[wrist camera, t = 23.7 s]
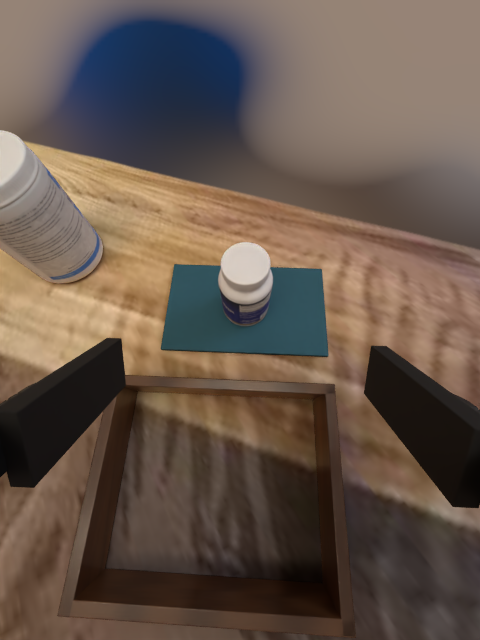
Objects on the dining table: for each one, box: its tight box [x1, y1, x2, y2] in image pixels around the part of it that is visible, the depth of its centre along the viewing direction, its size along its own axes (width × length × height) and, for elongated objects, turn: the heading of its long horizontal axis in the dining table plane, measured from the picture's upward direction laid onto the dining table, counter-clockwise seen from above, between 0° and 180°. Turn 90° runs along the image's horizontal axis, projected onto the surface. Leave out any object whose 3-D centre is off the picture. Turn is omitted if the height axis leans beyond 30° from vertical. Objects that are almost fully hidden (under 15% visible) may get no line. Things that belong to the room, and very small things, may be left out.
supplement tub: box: [0, 130, 103, 283], centre depth 31 cm, size 10×10×15 cm
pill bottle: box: [218, 242, 273, 326], centre depth 30 cm, size 6×6×10 cm
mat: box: [161, 264, 328, 357], centre depth 34 cm, size 20×12×1 cm, turn 87°
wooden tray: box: [58, 375, 356, 638], centre depth 25 cm, size 22×18×5 cm
